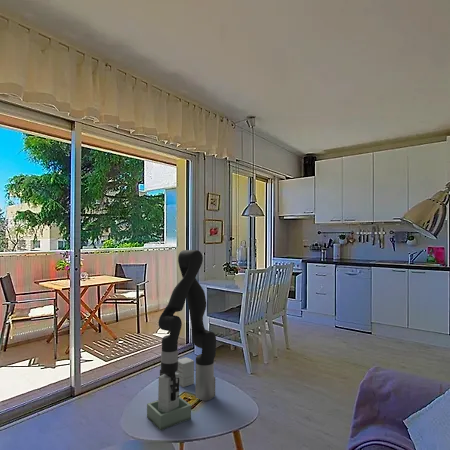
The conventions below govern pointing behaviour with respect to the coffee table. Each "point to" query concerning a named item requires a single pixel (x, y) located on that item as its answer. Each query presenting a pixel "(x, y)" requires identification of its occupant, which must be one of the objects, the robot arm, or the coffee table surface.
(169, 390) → the skincare box
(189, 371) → the supplement box
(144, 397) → the coffee table surface
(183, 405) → the box
